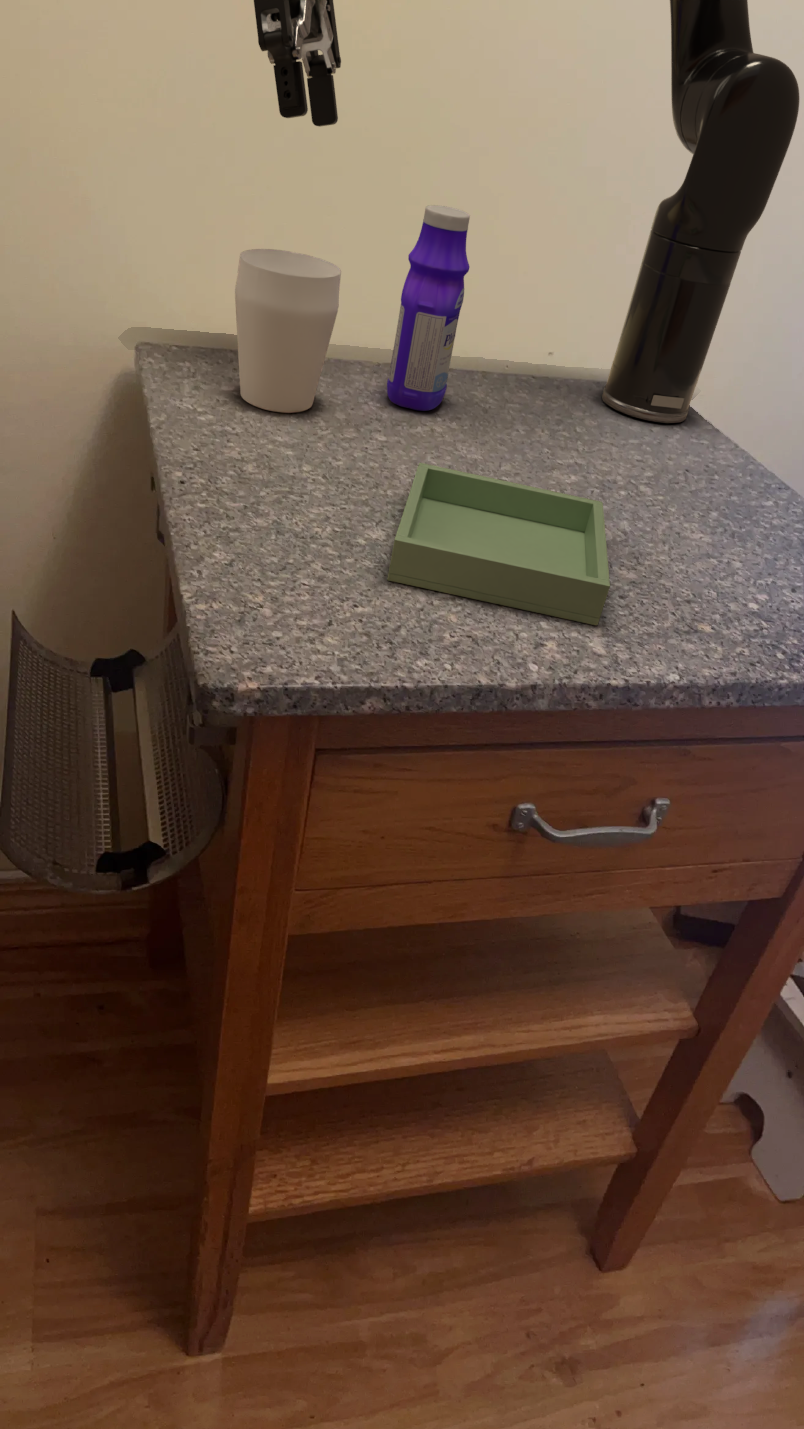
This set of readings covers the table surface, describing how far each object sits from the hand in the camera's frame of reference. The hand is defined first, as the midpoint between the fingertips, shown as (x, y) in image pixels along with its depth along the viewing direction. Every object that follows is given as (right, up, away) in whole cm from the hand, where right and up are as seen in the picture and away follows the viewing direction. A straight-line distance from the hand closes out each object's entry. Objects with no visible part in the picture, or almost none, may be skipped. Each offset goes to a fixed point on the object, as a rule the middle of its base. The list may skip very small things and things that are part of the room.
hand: (310, 121), depth 88 cm
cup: (-4, -22, +8) cm, 23 cm away
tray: (+15, -39, -12) cm, 43 cm away
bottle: (+9, -20, +14) cm, 26 cm away
